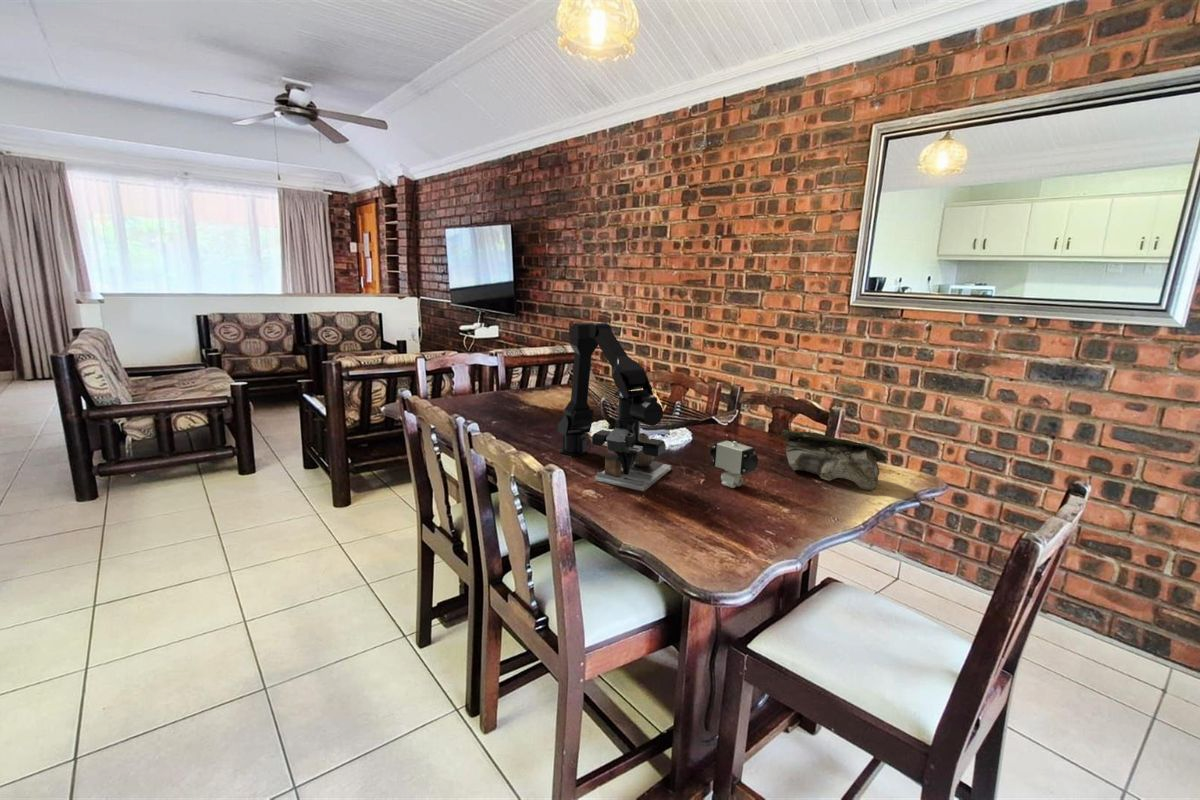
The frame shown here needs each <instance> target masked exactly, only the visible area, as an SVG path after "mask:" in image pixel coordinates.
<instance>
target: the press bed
mask: <svg viewBox="0 0 1200 800" xmlns="http://www.w3.org/2000/svg"><path fill="white" fill-rule="evenodd" d="M671 470H672V465H670V464H666V463H664V462H660V461H654V460H653V461H652V463H651V464H650V465H648V466H644V467H641V466H637V465H635V464H634V463H633V466H632V468H631V470H630V472H629V474H628V475H626V474H624V471H623V468H622V465H621V474H620V475H619V476H614V475H610V474H605V469H604V470H603V471H601V472H600V471H599V472H596V475H595V476H594V481H595V482H600V483H605V484H610V485H614V486H618V487H622V488H627V489H631V490H636V491H640V492H645V491H646V490H648V489H649V488H650V487H651V486H652V485H654V484H655V483H656V482H657V481H659V480H660V479H661V478H662V477H663V476H665V475H666V474H667V473H668V472H670V471H671Z"/></svg>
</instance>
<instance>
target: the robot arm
mask: <svg viewBox="0 0 1200 800" xmlns="http://www.w3.org/2000/svg"><path fill="white" fill-rule="evenodd" d="M568 337H569V344H570V346H571V349H572V351H573V353H574V356H573V370H572V379H571V380H572V381H571V395H570V400H569V402H568V404H566V406H565V408H564V412H563V417H562V418H561V420H560V421H559V422H558V424H557V431H558V433H559V434H561V435H562V449H560V450H559V453H561V454H566V455H570V456H575V457H579V456H580V455H582V454H584V453H586V452H588V451H589V449H588V448H587V442H588V441H587V439H588V438H587V437H586V433H587V434H589V433H591V428H592V424H593V422H594V420H593V419H594V418H593V417H594V409H592V408H591V407H590V404H589V403H588V401H589V400H588V399H589V388H590V378H591V366H592V363H591V362H592V356H593V353H594V352H595V351H596V349H597V348H598V347H599V349H600V350H601V352H602V353H603V355H604V357H605V358H606V360H607V361H608V363H609V365H610V367H611V368H612V373H611V376H612V380H613V381H614V382H613V383H614V384H615V386H616V388H617V389H618V390H616V391H615V392H614V396H615V397H618V403H617V420H615V423H614V429H612V430H611V431H610V430H606V429H605V430H604V429H600V430H598V431H596V432H594V433H593V434H592V435H591V442H590V443H591V445H592V446H599V447H602V446H604V444H605V443H606V448H607V450H608V451H611V452H614V453H615V455H618V457H619V459H620V462H621V465H622V468H623V471H624V474H626V475H628V474H629V472H630V470H631V468H632V466H633V463H634V461H635V459H636V457H637V456H638V454H639V453H641V452H642V451H643V452H644V454H645V455H650V456H654V457H658V456H660V455H662V454H663V453H664V452H666V447H667V445H666V443H665V440H662V439H657V438H653V437H652V438H649V440H648V441H646V442H645V441H639V439H640V438H641V434H640V431H641V424H642V423H643V424H645V425H648V426H651V427H652V426H653V427H654V426H656V425H659V423H660V422H661V421H662V419H663V417H664V410H663V407H662V405H661V403H659V402H658V397H656V396H654V392H653V387H652V385H651V383H650V380H649V377H648V375H647V372H646V370H645V368H644V367H642V365H640V363H639V362H638V361H636V360H634V359H632V358H630V357H629V355H628V354H627V352H626V351H625V349H624V348H623V346H622V345H621V343H620V341H618V339H617V337H616V336H615V334H614V332H613V331H612V326H611V325H610V323H607V322H597V323H596V322H574V323H573V324H572V325H570V328H569V331H568Z"/></svg>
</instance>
